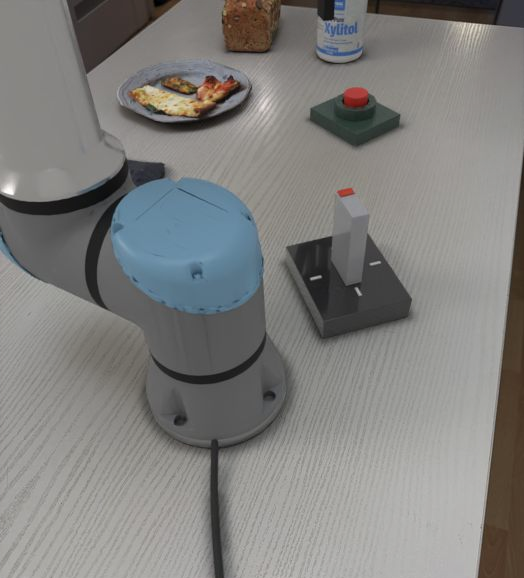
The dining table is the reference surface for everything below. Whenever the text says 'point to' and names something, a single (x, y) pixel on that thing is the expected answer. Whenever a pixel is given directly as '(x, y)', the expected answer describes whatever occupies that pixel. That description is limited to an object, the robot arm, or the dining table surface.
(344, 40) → the supplement tub
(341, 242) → the grey block red corner
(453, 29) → the dining table surface
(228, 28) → the bread
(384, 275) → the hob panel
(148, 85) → the food plate
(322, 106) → the switch box
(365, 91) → the power button
